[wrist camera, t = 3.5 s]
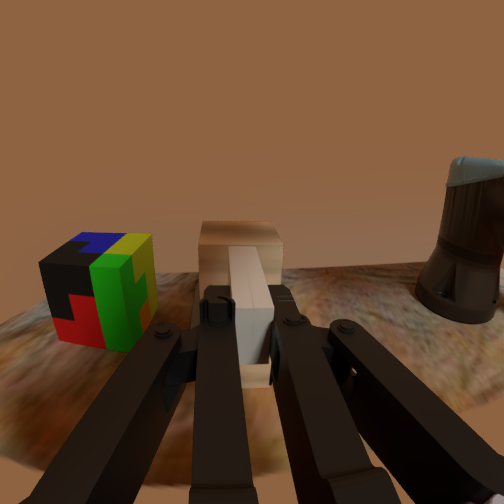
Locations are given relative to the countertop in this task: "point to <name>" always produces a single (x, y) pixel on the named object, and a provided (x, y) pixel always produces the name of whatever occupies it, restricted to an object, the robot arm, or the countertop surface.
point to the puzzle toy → (101, 289)
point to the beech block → (216, 268)
